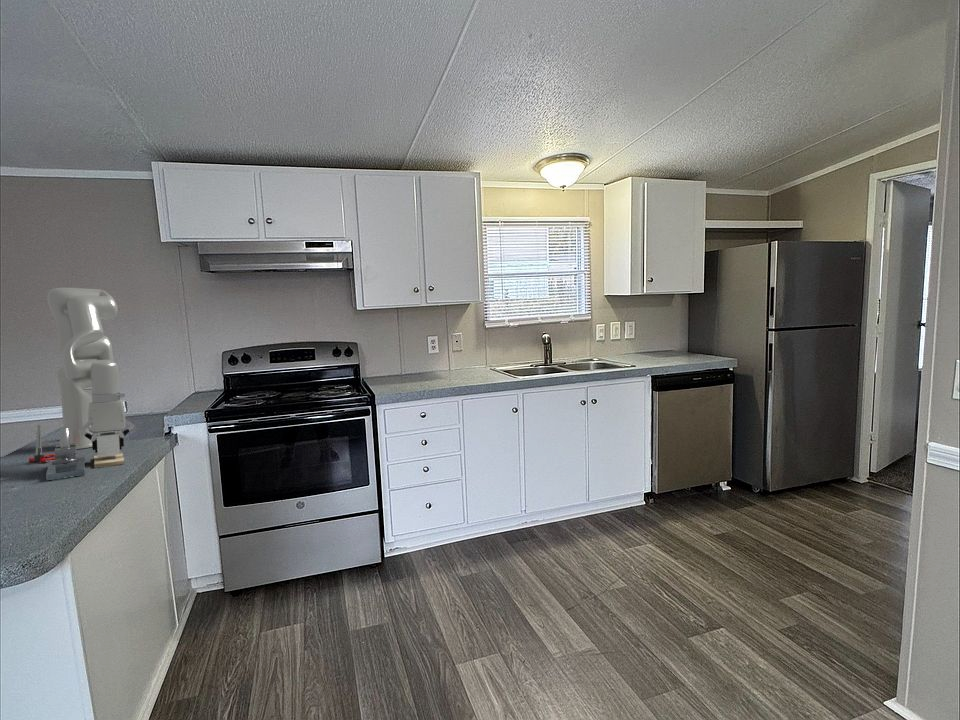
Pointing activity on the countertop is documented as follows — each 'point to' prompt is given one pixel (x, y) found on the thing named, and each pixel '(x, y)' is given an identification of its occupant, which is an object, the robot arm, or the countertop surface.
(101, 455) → the white hollow square block
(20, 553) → the countertop surface
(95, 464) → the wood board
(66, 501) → the countertop surface
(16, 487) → the countertop surface
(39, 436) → the tow hook
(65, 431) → the grey peg stand
